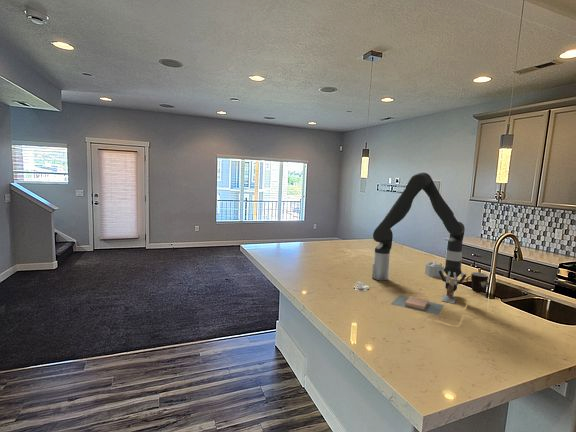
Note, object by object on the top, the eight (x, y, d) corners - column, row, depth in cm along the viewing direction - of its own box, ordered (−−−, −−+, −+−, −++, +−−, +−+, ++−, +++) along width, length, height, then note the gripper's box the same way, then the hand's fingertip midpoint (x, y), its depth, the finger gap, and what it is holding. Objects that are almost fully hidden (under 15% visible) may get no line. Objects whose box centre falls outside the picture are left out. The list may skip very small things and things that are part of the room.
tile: (410, 299, 167) (404, 305, 158) (410, 296, 167) (405, 302, 158) (428, 303, 162) (424, 310, 153) (429, 300, 162) (424, 306, 153)
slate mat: (390, 305, 160) (390, 303, 160) (399, 296, 173) (399, 295, 173) (438, 316, 148) (438, 315, 148) (443, 306, 161) (443, 304, 161)
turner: (441, 302, 166) (441, 295, 165) (447, 283, 180) (447, 277, 178) (453, 305, 163) (454, 298, 161) (459, 286, 176) (459, 279, 175)
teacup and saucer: (369, 288, 186) (370, 281, 186) (366, 292, 179) (367, 285, 178) (354, 286, 190) (355, 279, 189) (351, 290, 183) (351, 283, 182)
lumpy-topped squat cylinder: (430, 277, 212) (431, 264, 211) (421, 271, 225) (422, 259, 224) (445, 277, 212) (446, 264, 211) (435, 272, 225) (437, 260, 224)
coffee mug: (484, 289, 190) (486, 273, 189) (488, 294, 182) (490, 277, 180) (462, 286, 193) (464, 270, 192) (465, 291, 185) (467, 274, 184)
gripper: (438, 258, 171) (435, 289, 173) (467, 262, 163) (464, 295, 165) (440, 255, 177) (438, 285, 179) (469, 259, 169) (466, 291, 171)
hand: (451, 290), depth 172 cm, fingers closed on turner, 2 cm apart
